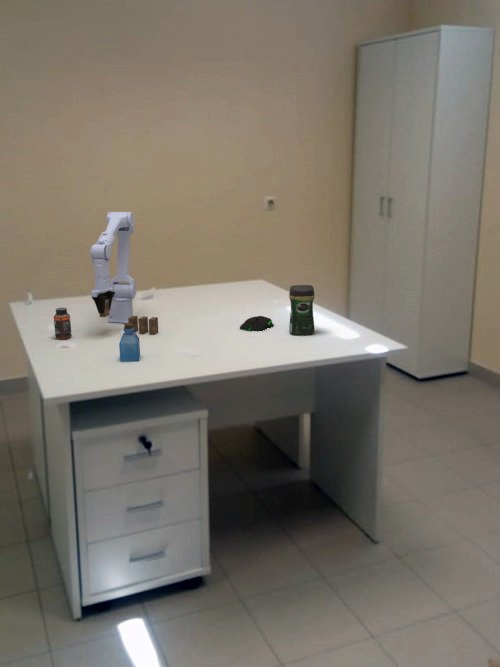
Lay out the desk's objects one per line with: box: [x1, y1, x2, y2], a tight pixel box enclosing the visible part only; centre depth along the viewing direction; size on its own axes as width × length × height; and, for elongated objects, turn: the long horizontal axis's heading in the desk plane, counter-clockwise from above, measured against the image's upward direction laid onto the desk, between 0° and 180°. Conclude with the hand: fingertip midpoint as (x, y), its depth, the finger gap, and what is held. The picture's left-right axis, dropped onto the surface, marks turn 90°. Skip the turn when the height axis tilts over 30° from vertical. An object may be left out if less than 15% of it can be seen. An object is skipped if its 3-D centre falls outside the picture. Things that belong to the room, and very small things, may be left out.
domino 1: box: [128, 315, 139, 333], centre depth 275 cm, size 2×4×6 cm, turn 163°
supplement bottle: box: [53, 307, 72, 341], centre depth 267 cm, size 6×6×11 cm
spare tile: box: [98, 299, 110, 318], centre depth 270 cm, size 2×4×6 cm, turn 163°
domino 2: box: [138, 315, 149, 335], centre depth 274 cm, size 2×4×6 cm, turn 163°
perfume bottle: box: [118, 323, 141, 363], centre depth 241 cm, size 6×6×12 cm
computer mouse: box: [239, 315, 275, 333], centre depth 282 cm, size 11×16×4 cm
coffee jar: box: [288, 284, 316, 336], centre depth 270 cm, size 10×8×19 cm
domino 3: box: [148, 316, 159, 336], centre depth 273 cm, size 2×4×6 cm, turn 163°
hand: (104, 311), depth 270 cm, fingers closed on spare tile, 4 cm apart
